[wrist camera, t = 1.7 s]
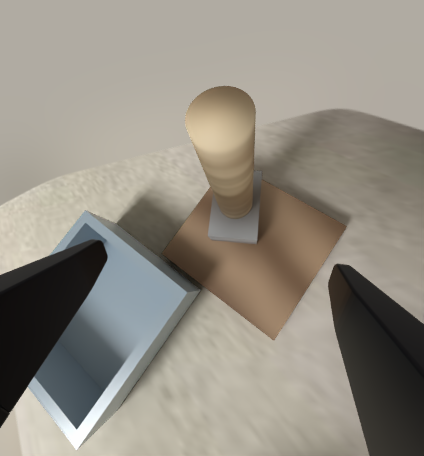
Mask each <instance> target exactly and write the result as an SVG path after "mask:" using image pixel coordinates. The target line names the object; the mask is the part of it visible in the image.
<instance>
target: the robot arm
mask: <svg viewBox="0 0 424 456" xmlns="http://www.w3.org/2000/svg"><path fill="white" fill-rule="evenodd" d="M107 260H108V254H107V252H106V249H105V246H104V244H103V242H102V241H101V240H96V239H91V240H88V241H85V242H83V243H80V244H78V245H75V246H73V247H70V248H68V249H65V250H63V251H60V252H57V253H55V254H52V255H50V256H47V257H45V258H42V259H40V260H37V261H35V262H32V263H30V264H27V265H25V266H22V267H19V268H17V269H14V270H12V271H9V272H7V273H4V274H2V275H0V428H1V426H2V425H3V423H4V422H5V420H6V419H7V417H8V415H9V414H10V413H9V412H11V411H12V409H13V408H14V406H15V405H16V403H17V402H18V400H19V399H20V397H21V396H22V394H23V393H24V391H25V390H26V388H27V387H28V385H29V384H30V382H31V381H32V379H33V378H34V376H35V375H36V373H37V372H38V370H39V369H40V367H41V366H42V364H43V363H44V361H45V360H46V358H47V357H48V355H49V354H50V352H51V351H52V349H53V348H54V346H55V345H56V343H57V342H58V340H59V339H60V337H61V336H62V334H63V333H64V331H65V330H66V328H67V327H68V325H69V324H70V322H71V321H72V319H73V318H74V316H75V315H76V313H77V312H78V310H79V309H80V307H81V306H82V304H83V302H84V301H85V299H86V298H87V296H88V295H89V293H90V292H91V290H92V288H93V286H94V284H95V283H96V281H97V279H98V277H99V275H100V273H101V271H102V270H103V268H104V266H105V264H106V262H107ZM328 289H329V295H330V302H331V308H332V315H333V321H334V327H335V332H336V336H337V340H338V343H339V347H340V350H341V354H342V358H343V361H344V365H345V369H346V372H347V376H348V379H349V383H350V387H351V390H352V394H353V397H354V401H355V405H356V408H357V412H358V416H359V419H360V423H361V426H362V430H363V434H364V437H365V441H366V444H367V448H368V452H369V455H370V456H424V324H423V323H422V322H420V321H419V320H418V319H417V318H415V317H414V316H413V315H411V314H410V313H409V312H408V311H406V310H405V309H404V308H403V307H401V306H400V305H399V304H398V303H396V302H395V301H394V300H393V299H391V298H390V297H389V296H388V295H386V294H385V293H384V292H383V291H381V290H380V289H379V288H377V287H376V286H375V285H374V284H372V283H371V282H370V281H369V280H367V279H366V278H365V277H364V276H362V275H361V274H360V273H359V272H357V271H356V270H355V269H354V268H352V267H351V266H349V265H344V264H336V265H335V266H334V267H333V270H332V273H331V276H330V279H329V283H328Z"/></svg>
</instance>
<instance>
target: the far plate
mask: <svg viewBox="0 0 424 456" xmlns="http://www.w3.org/2000/svg"><path fill="white" fill-rule="evenodd" d="M212 198H213V191H212V189H211V187H210V188H209V189H208V191H207V192H206V194H205V195H204V196H203V198H202V199H201V200H200V202H199V203H198V205H197V206H196V207H195V209H194V210H193V211H192V213H191V214H190V215H189V217H188V218H187V220H186V221H185V222H184V224H183V225H182V226H181V228H180V229H179V230H178V232H177V233H176V235H175V236H174V237H173V239H172V240H171V241H170V243H169V244H168V246H167V247H166V248H165V250H164V251H163V252H162V254H163V255H164V256H165V257H167V258H168V259H169V260H170V261H172V262H173V263H174V264H176V265H177V266H178V267H179V268H181V269H182V270H183V271H185V272H186V273H187V274H188V275H190V276H191V277H192V278H194V279H195V280H196V281H198V282H199V283H200V284H201V285H203V286H204V287H205V288H207V289H208V290H209V291H210V292H212V293H213V294H214V295H216V296H217V297H218V298H219V299H221V300H222V301H223V302H225V303H226V304H227V305H229V306H230V307H231V308H232V309H234V310H235V311H236V312H238V313H239V314H240V315H241V316H243V317H244V318H245V319H247V320H248V321H249V322H250V323H252V324H253V325H254V326H256V327H257V328H258V329H260V330H261V331H262V332H263V333H265V334H266V335H267V336H269V337H270V338H271V339H272V340H275V338H276V336H277V335H278V333H279V332H280V330H281V329H282V327H283V326H284V324H285V322H286V321H287V319H288V318H289V316H290V315H291V313H292V311H293V310H294V308H295V307H296V305H297V304H298V302H299V301H300V299H301V297H302V296H303V294H304V293H305V291H306V290H307V288H308V286H309V285H310V283H311V282H312V280H313V279H314V277H315V275H316V274H317V272H318V271H319V269H320V268H321V266H322V265H323V263H324V261H325V260H326V258H327V257H328V255H329V254H330V252H331V250H332V249H333V247H334V246H335V244H336V243H337V241H338V240H339V238H340V236H341V235H342V233H343V232H344V230H345V229H346V227H347V226H345V225H344V224H342V223H340V222H338V221H336V220H335V219H333V218H331V217H329V216H327V215H326V214H324V213H322V212H320V211H318V210H317V209H315V208H313V207H311V206H309V205H308V204H306V203H304V202H302V201H300V200H298V199H297V198H295V197H293V196H291V195H289V194H288V193H286V192H284V191H282V190H280V189H279V188H277V187H275V186H273V185H271V184H270V183H268V182H266V181H264V180H262V182H261V196H260V209H259V222H258V236H257V244H247V243H236V242H225V241H214V240H211V239H210V238H209V237H208V230H209V222H210V214H211V206H212Z"/></svg>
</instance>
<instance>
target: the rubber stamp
mask: <svg viewBox="0 0 424 456" xmlns="http://www.w3.org/2000/svg"><path fill="white" fill-rule="evenodd" d="M255 114H256V112H255V105H254V102H253V100H252V99H251V97H250V96H249V95H248V94H247V93H246V92H244V91H243V90H241V89H238V88H236V87H231V86H219V87H214V88H211V89H209V90H206V91H204V92H203V93H201V94H200V95H199V96H197V97H196V98H195V99H194V100H193V101H192V103H191V104H190V106H189V108H188V110H187V112H186V117H185V124H186V128H187V131H188V133H189V136H190V138H191V141H192V143H193V145H194V148H195V150H196V153H197V155H198V158H199V160H200V162H201V165H202V167H203V170H204V172H205V174H206V177H207V179H208V182H209V184H210V186H211V189H212V191H213V198H212V206H211V214H210V222H209V230H208V237H209V238H210V239H211V240H214V241H225V242H236V243H247V244H257V236H258V222H259V209H260V196H261V182H262V171H254V144H255Z"/></svg>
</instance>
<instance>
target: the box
mask: <svg viewBox="0 0 424 456" xmlns="http://www.w3.org/2000/svg"><path fill="white" fill-rule="evenodd" d="M91 239H96V240H101V241H102V242H103V244H104V246H105V249H106V252H107V254H108V260H107V262H106V264H105V266H104V268H103V270H102V271H101V273H100V275H99V277H98V279H97V281H96V283H95V284H94V286H93V288H92V290H91V292H90V293H89V295H88V296H87V298H86V299H85V301H84V302H83V304H82V306H81V307H80V309H79V310H78V312H77V313H76V315H75V316H74V318H73V319H72V321H71V322H70V324H69V325H68V327H67V328H66V330H65V331H64V333H63V334H62V336H61V337H60V339H59V340H58V342H57V343H56V345H55V346H54V348H53V349H52V351H51V352H50V354H49V355H48V357H47V358H46V360H45V361H44V363H43V364H42V366H41V367H40V369H39V370H38V372H37V373H36V375H35V376H34V378H33V379H32V381H31V382H30V384H29V385H28V388H29V389H30V390H31V392H32V393H33V394H34V396H35V397H36V398H37V399H38V401H39V402H40V403H41V405H42V406H43V407H44V408H45V410H46V411H47V412H48V414H49V415H50V416H51V418H52V419H53V420H54V421H55V423H56V424H57V425H58V427H59V428H60V429H61V430H62V432H63V433H64V434H65V436H66V437H67V438H68V440H69V441H70V442H71V443H72V445H73V446H74V447H75V449H76V450H77V449H78V448H79V447H80V446H81V445H83V444H84V443H85V442H86V441H87V440H88V439H89V438H90V437H91V436H92V435H93V434H94V433H95V432H96V431H97V430H98V429H99V428H100V427H101V426H102V425H103V424H104V423H105V422H106V421H107V420H108V419H109V418H110V417H111V416H112V415H113V414H114V413H115V412H116V411H117V410H118V408H119V407H120V405H121V404H122V403H123V401H124V400H125V398H126V397H127V395H128V394H129V393H130V391H131V390H132V388H133V387H134V385H135V384H136V382H137V381H138V380H139V378H140V377H141V375H142V374H143V372H144V371H145V370H146V368H147V367H148V365H149V364H150V362H151V361H152V359H153V358H154V357H155V355H156V354H157V352H158V351H159V349H160V348H161V347H162V345H163V344H164V342H165V341H166V339H167V338H168V336H169V335H170V334H171V332H172V331H173V329H174V328H175V326H176V325H177V324H178V322H179V321H180V319H181V318H182V316H183V315H184V314H185V312H186V311H187V309H188V308H189V306H190V305H191V303H192V302H193V301H194V299H195V298H196V296H197V295H198V293H199V292H200V291H201V290H200V289H199V288H198V287H196V286H195V285H194V284H192V283H191V282H190V281H189V280H187V279H186V278H185V277H184V276H182V275H181V274H180V273H178V272H177V271H176V270H175V269H173V268H172V267H171V266H170V265H168V264H167V263H166V262H164V261H163V260H162V259H161V258H159V257H158V256H157V255H155V254H154V253H153V252H152V251H150V250H149V249H148V248H147V247H145V246H144V245H143V244H141V243H140V242H139V241H138V240H136V239H135V238H134V237H133V236H131V235H130V234H129V233H127V232H126V231H125V230H124V229H122V228H121V227H120V226H118V225H117V224H116V223H114V222H111V221H109V220H107V219H104V218H102V217H100V216H97V215H95V214H93V213H90V212H88V211H86V210H85V211H84V213H83V214H82V215H81V216H80V218H79V219H78V220H77V221H76V223H75V224H74V225H73V227H72V228H71V229H70V230H69V232H68V233H67V234H66V235H65V237H64V238H63V239H62V240H61V242H60V243H59V244H58V245H57V247H56V248H55V249H54V250H53V252H52V253H51V254H50V255H52V254H55V253H57V252H60V251H63V250H65V249H68V248H70V247H73V246H75V245H78V244H80V243H83V242H85V241H88V240H91Z"/></svg>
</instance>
